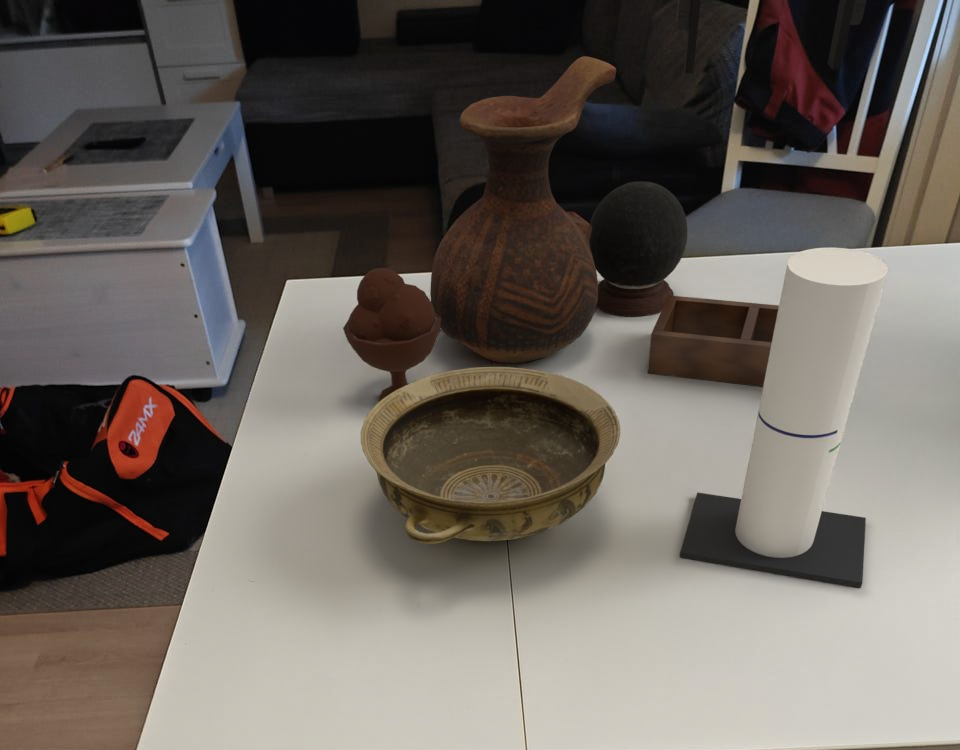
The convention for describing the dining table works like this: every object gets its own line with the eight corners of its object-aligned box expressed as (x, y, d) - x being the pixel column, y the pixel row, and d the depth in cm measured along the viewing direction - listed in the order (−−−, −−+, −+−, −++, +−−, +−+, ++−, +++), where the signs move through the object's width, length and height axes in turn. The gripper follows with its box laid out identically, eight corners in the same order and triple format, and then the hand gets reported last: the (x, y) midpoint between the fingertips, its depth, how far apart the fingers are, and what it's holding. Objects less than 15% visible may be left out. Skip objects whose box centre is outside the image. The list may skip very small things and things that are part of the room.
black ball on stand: (684, 282, 126) (697, 168, 115) (675, 322, 117) (689, 203, 106) (593, 277, 128) (597, 166, 118) (577, 316, 119) (581, 199, 109)
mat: (864, 522, 84) (865, 517, 84) (860, 588, 77) (862, 582, 77) (696, 497, 88) (697, 492, 88) (679, 557, 82) (680, 552, 81)
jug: (591, 384, 106) (605, 101, 85) (418, 376, 109) (390, 102, 88) (605, 307, 121) (620, 50, 100) (453, 302, 124) (436, 53, 103)
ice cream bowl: (345, 420, 102) (324, 293, 92) (371, 374, 110) (353, 252, 100) (434, 425, 101) (422, 296, 90) (453, 378, 108) (444, 254, 98)
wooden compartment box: (837, 350, 109) (847, 311, 106) (832, 394, 101) (842, 354, 98) (664, 332, 115) (668, 295, 111) (647, 373, 107) (650, 334, 104)
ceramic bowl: (545, 641, 74) (546, 549, 67) (311, 572, 83) (290, 483, 76) (654, 460, 93) (663, 373, 86) (455, 418, 102) (449, 335, 95)
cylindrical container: (720, 522, 84) (768, 258, 67) (783, 504, 86) (846, 241, 68) (763, 565, 79) (826, 292, 62) (829, 545, 81) (909, 273, 63)
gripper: (961, -256, 70) (888, 55, 85) (647, -235, 73) (629, 62, 88) (988, -258, 65) (905, 74, 80) (649, -236, 68) (629, 80, 83)
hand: (760, 68), depth 84 cm, fingers open, 13 cm apart
